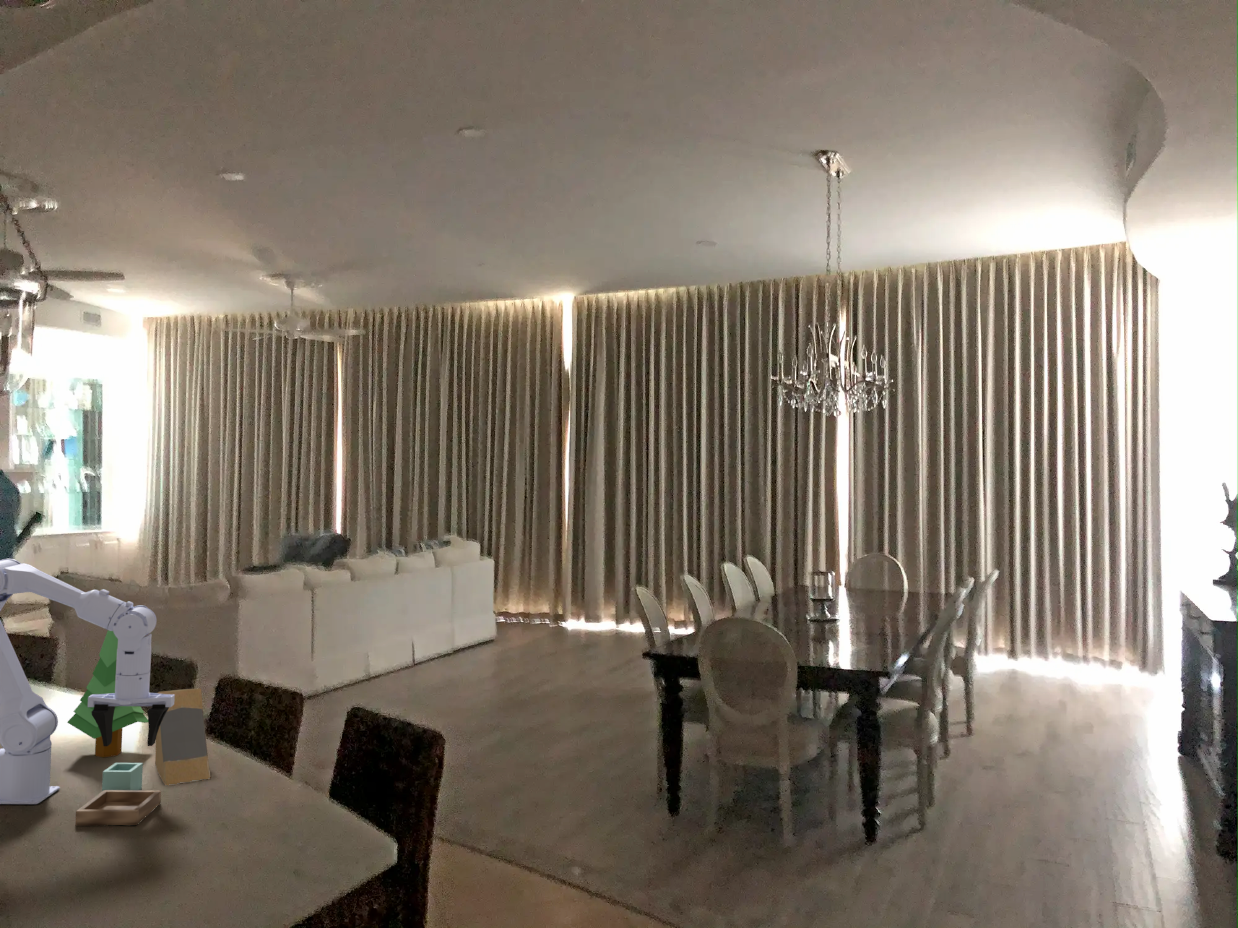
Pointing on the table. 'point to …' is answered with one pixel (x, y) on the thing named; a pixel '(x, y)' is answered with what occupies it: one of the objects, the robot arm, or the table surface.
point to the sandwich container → (182, 739)
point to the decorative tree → (105, 685)
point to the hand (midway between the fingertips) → (129, 744)
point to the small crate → (123, 777)
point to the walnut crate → (118, 807)
